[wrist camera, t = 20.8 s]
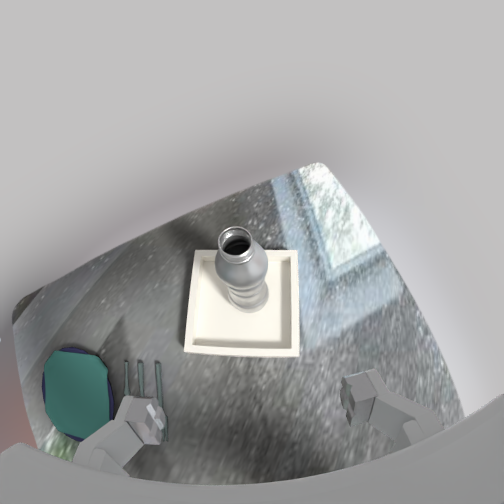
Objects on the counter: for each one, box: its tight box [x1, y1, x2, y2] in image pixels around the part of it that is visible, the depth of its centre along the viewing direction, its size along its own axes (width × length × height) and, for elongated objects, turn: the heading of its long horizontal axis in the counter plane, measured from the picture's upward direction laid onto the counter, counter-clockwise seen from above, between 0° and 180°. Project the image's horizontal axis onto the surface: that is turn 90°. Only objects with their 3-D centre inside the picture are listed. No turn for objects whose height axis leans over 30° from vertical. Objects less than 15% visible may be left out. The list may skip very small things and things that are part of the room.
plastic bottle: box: [214, 226, 269, 313], centre depth 37 cm, size 6×7×20 cm
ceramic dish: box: [184, 250, 299, 358], centre depth 45 cm, size 18×18×3 cm
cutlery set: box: [42, 347, 168, 442], centre depth 39 cm, size 20×30×2 cm, turn 94°
